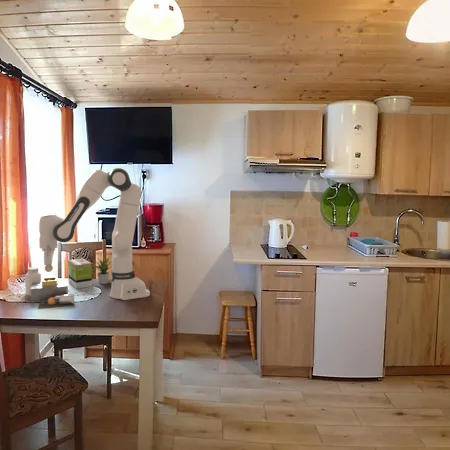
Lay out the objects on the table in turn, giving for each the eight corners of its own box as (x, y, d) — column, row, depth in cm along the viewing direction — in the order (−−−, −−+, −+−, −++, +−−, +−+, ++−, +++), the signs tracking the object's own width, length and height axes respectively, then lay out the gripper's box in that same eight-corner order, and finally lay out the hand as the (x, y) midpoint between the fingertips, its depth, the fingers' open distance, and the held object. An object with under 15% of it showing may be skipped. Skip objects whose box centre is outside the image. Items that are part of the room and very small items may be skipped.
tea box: (67, 283, 249) (67, 259, 247) (84, 280, 256) (83, 257, 254) (76, 289, 238) (75, 264, 236) (92, 286, 244) (92, 262, 242)
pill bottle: (42, 295, 225) (41, 268, 223) (26, 297, 220) (25, 270, 218) (40, 291, 231) (39, 265, 229) (24, 293, 227) (23, 267, 225)
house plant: (98, 278, 262) (98, 253, 259) (118, 279, 259) (118, 255, 257) (87, 284, 248) (87, 258, 245) (108, 286, 245) (108, 259, 243)
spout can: (73, 301, 213) (73, 292, 213) (74, 304, 209) (73, 295, 208) (54, 303, 210) (54, 294, 209) (54, 306, 205) (54, 297, 205)
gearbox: (67, 294, 227) (67, 275, 226) (67, 300, 216) (67, 280, 215) (32, 296, 221) (32, 277, 220) (30, 303, 210) (30, 283, 208)
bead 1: (52, 270, 219) (52, 263, 219) (52, 272, 215) (52, 265, 215) (44, 271, 218) (44, 263, 217) (44, 272, 214) (44, 265, 213)
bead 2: (56, 303, 211) (56, 295, 210) (56, 305, 207) (55, 298, 206) (48, 304, 209) (47, 296, 209) (47, 306, 206) (47, 299, 205)
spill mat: (73, 301, 216) (73, 300, 216) (74, 306, 207) (74, 305, 207) (39, 304, 210) (39, 303, 209) (37, 309, 201) (37, 309, 201)
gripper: (54, 247, 206) (54, 274, 208) (55, 240, 225) (55, 265, 227) (40, 248, 204) (41, 274, 206) (43, 241, 223) (43, 265, 225)
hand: (48, 269), depth 216 cm, fingers closed on bead 1, 4 cm apart
